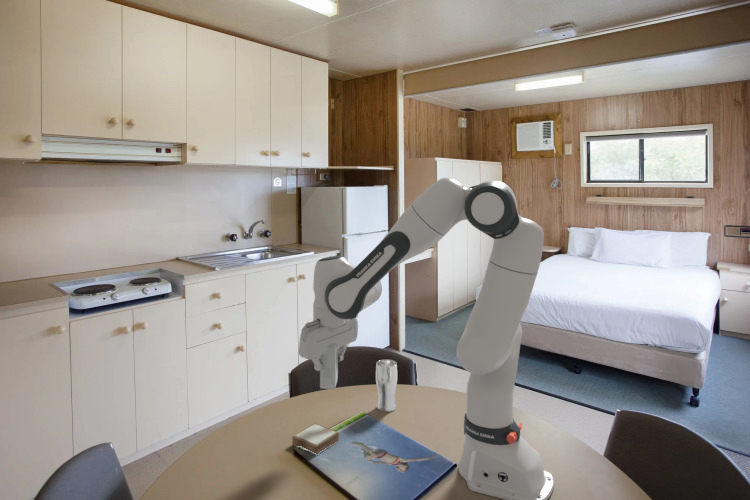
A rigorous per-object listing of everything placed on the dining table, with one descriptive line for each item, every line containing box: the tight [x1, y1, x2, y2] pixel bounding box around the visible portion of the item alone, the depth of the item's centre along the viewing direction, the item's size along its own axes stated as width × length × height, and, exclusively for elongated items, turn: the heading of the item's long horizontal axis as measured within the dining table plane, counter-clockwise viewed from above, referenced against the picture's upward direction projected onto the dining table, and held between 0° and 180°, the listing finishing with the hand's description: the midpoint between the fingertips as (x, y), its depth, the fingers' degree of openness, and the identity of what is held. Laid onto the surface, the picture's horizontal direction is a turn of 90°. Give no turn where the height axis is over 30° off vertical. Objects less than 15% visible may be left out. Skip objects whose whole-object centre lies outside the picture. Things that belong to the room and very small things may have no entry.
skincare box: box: [319, 343, 339, 390], centre depth 127 cm, size 6×4×12 cm
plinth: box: [291, 423, 340, 454], centre depth 130 cm, size 9×9×3 cm
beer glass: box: [375, 359, 398, 413], centre depth 150 cm, size 7×7×15 cm
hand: (329, 365), depth 127 cm, fingers closed on skincare box, 7 cm apart
